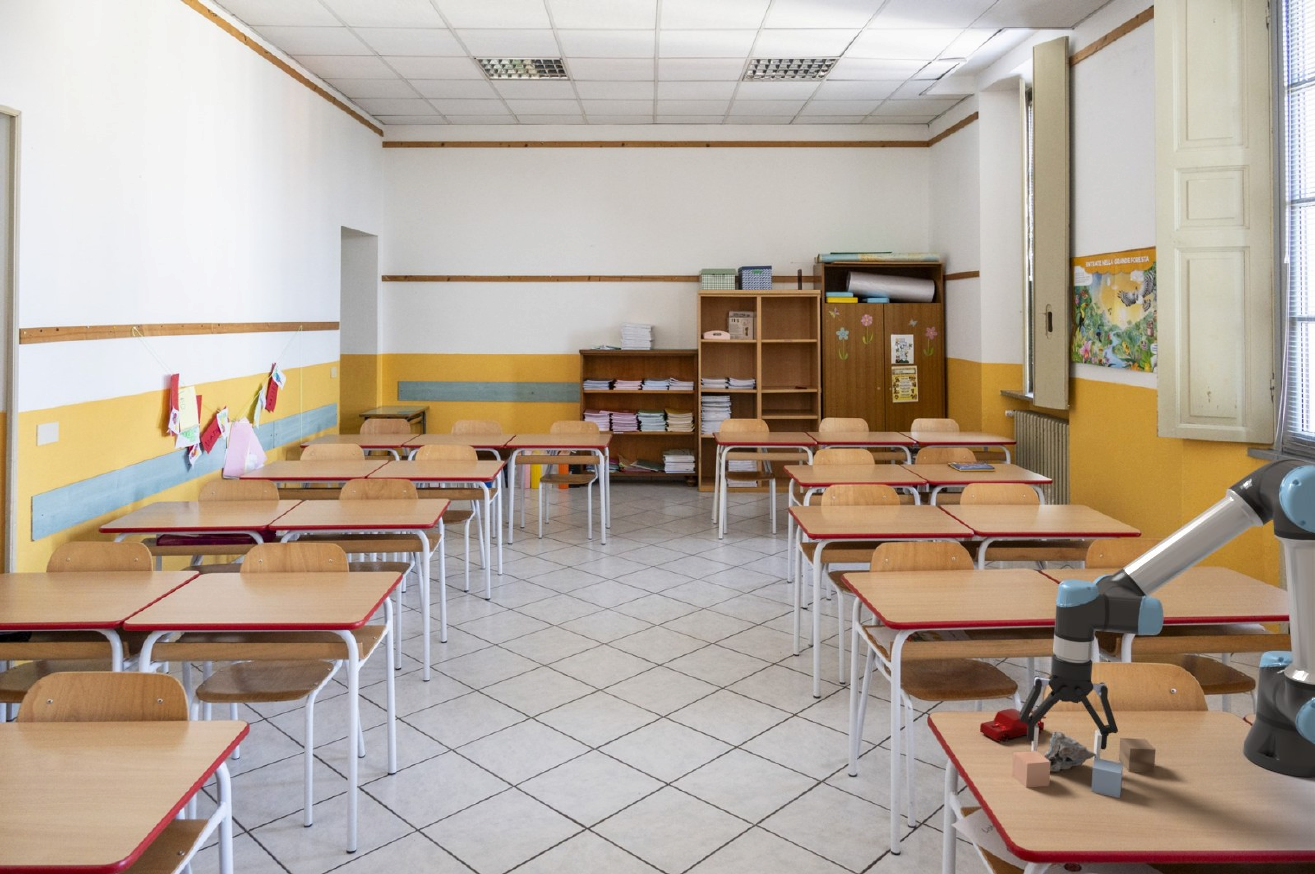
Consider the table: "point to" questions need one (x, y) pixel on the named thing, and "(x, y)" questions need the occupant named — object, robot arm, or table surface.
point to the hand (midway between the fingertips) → (1064, 759)
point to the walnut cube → (1137, 755)
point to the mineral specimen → (1066, 752)
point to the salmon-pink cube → (1031, 769)
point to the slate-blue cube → (1107, 777)
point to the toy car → (1007, 725)
